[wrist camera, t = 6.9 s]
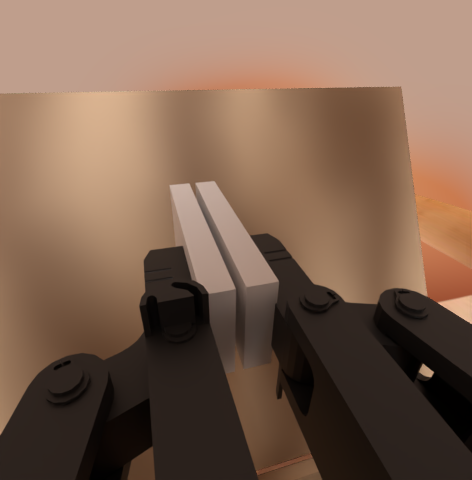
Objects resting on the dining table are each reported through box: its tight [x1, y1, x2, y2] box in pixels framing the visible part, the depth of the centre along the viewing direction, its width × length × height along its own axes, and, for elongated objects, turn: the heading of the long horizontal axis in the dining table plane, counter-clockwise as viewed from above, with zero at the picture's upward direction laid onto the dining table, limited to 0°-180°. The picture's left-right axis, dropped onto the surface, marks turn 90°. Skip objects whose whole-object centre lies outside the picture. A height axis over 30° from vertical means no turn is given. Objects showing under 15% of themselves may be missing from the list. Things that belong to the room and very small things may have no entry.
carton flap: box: [0, 87, 434, 480], centre depth 14 cm, size 20×17×1 cm
